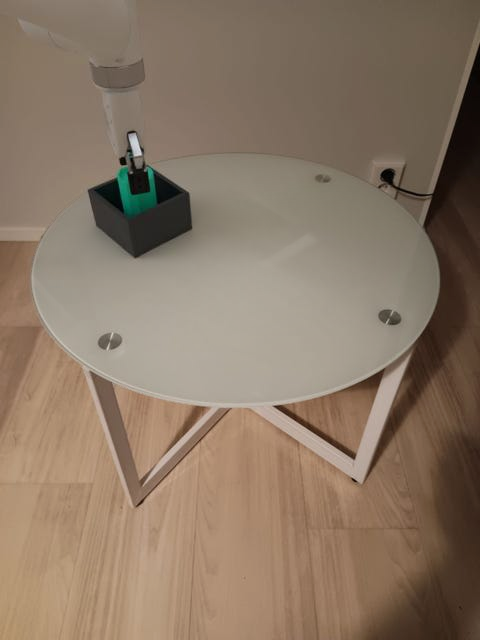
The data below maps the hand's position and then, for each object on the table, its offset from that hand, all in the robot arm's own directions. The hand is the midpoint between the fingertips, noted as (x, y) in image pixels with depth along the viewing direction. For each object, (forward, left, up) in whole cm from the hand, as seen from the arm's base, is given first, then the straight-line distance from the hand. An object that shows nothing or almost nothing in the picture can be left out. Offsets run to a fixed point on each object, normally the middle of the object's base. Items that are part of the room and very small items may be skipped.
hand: (134, 177), depth 86 cm
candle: (0, 0, -10) cm, 10 cm away
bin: (0, 0, -10) cm, 10 cm away
